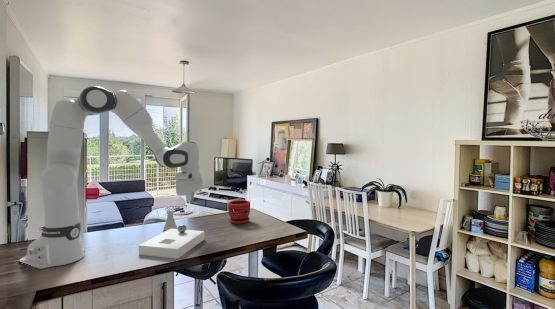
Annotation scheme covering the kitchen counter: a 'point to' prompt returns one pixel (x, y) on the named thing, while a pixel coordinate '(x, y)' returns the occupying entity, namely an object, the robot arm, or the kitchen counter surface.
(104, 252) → the kitchen counter surface
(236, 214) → the plant pot
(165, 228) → the flask
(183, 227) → the steel ball
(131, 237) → the kitchen counter surface
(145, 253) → the hole board
